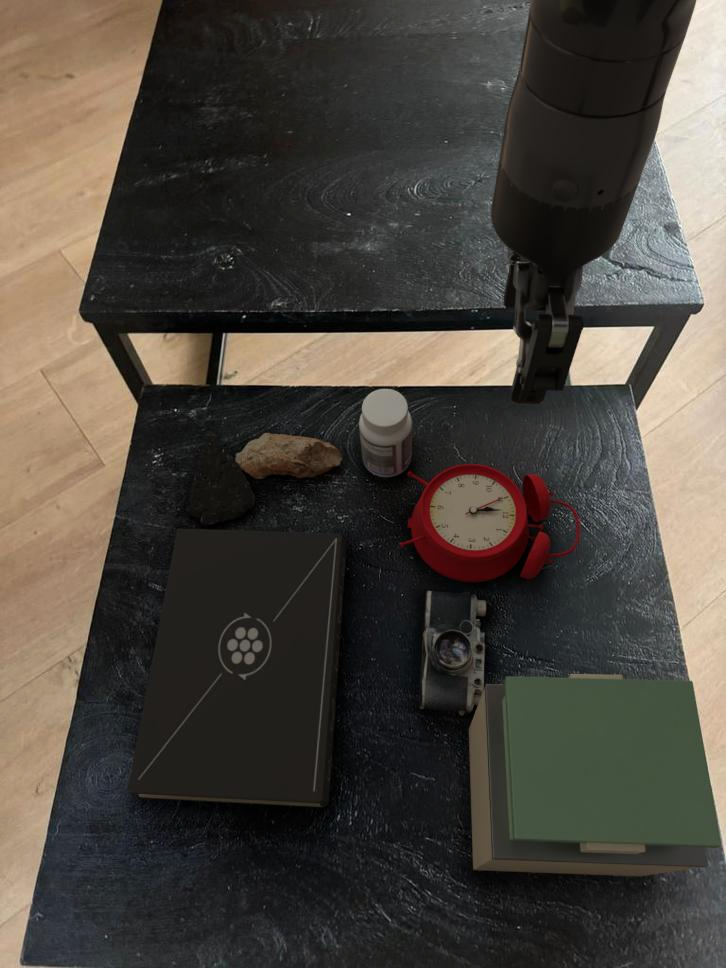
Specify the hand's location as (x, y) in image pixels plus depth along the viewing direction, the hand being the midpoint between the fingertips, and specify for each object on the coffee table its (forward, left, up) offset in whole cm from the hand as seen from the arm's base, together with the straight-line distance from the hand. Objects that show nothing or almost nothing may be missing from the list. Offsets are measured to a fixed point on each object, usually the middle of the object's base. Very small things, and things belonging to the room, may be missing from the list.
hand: (521, 349), depth 55 cm
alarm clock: (+1, +5, -19) cm, 20 cm away
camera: (+4, +16, -19) cm, 26 cm away
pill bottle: (+10, -2, -19) cm, 22 cm away
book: (+21, +18, -19) cm, 33 cm away
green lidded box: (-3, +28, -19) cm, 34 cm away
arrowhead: (+25, +5, -19) cm, 31 cm away
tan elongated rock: (+19, -2, -19) cm, 27 cm away
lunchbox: (-3, +28, -5) cm, 28 cm away
